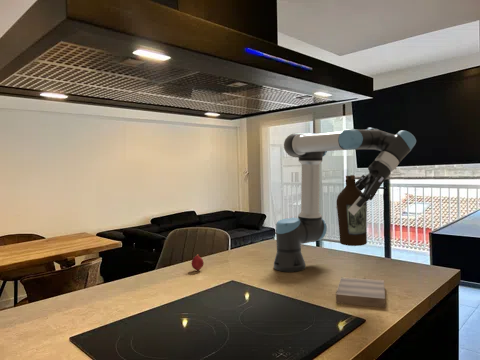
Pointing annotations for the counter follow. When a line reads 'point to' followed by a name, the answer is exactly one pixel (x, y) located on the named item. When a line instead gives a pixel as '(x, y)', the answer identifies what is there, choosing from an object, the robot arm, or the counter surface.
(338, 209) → the olive oil
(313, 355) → the counter surface
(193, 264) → the onion
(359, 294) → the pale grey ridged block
